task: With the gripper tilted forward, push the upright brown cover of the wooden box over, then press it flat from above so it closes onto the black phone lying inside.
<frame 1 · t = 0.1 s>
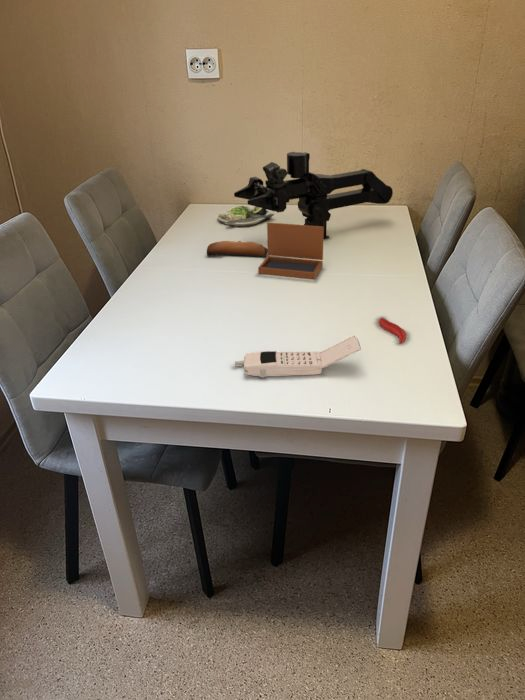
hand: (240, 198, 162), 17 cm above the table, tool horizontal, fingers open, 9 cm apart
wooden box: (290, 272, 156), on the table
mobile phone: (296, 370, 114), on the table
sunglasses case: (238, 254, 170), on the table
cover: (295, 241, 156), point 7 cm above the table, hinge at 92.0°
cayenne pepper: (392, 331, 127), on the table
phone: (290, 270, 156), point 1 cm above the table, touching wooden box
salad plate: (245, 219, 198), on the table
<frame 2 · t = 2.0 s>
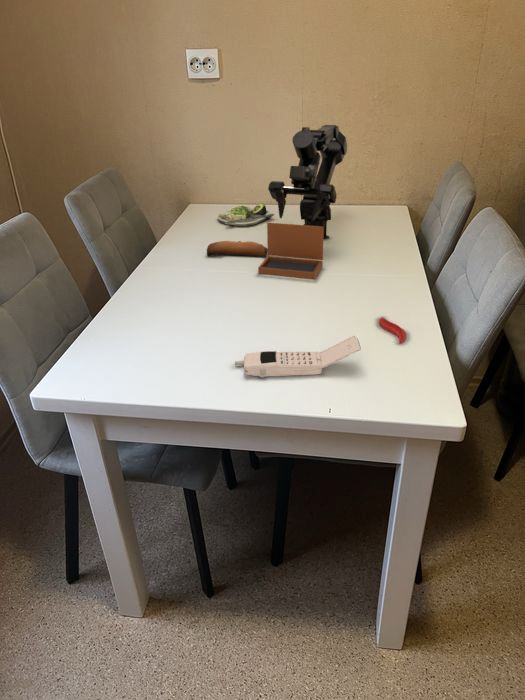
hand: (296, 219, 156), 13 cm above the table, tool tilted 45°, fingers open, 9 cm apart
nothing on the table moved.
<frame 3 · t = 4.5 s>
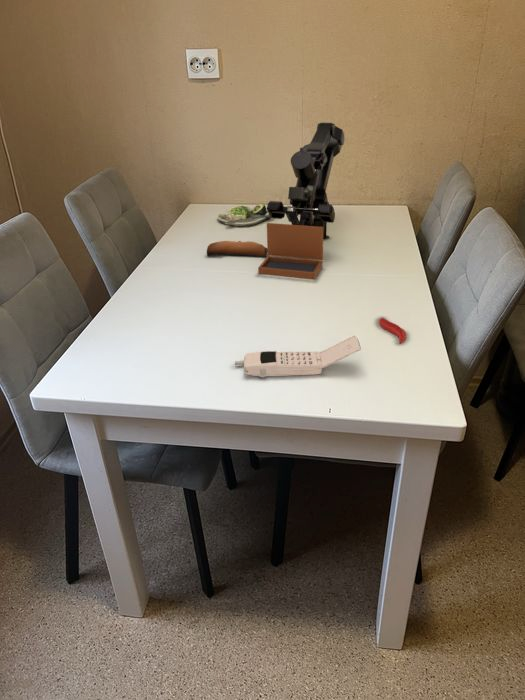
hand: (295, 239, 156), 8 cm above the table, tool tilted 45°, fingers closed, pressing on cover
cover: (294, 241, 156), point 7 cm above the table, hinge at 89.6°, touching gripper
everything else where it was.
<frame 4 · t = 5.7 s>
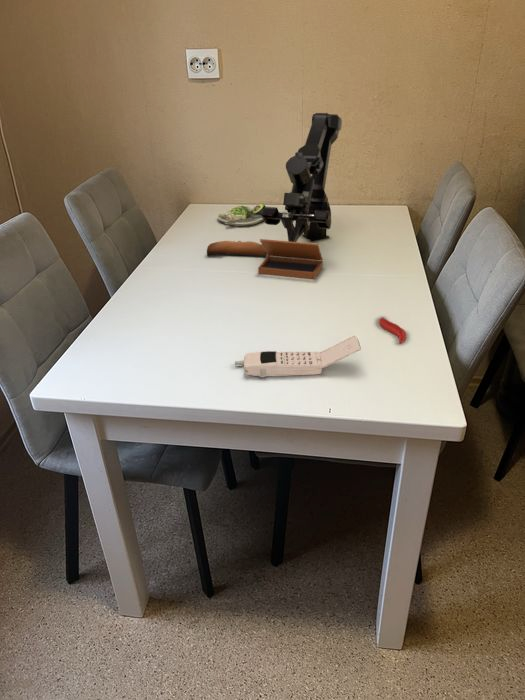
hand: (290, 246, 152), 8 cm above the table, tool tilted 45°, fingers closed, pressing on cover
cover: (291, 249, 154), point 6 cm above the table, hinge at 46.7°, touching gripper
everything else where it was.
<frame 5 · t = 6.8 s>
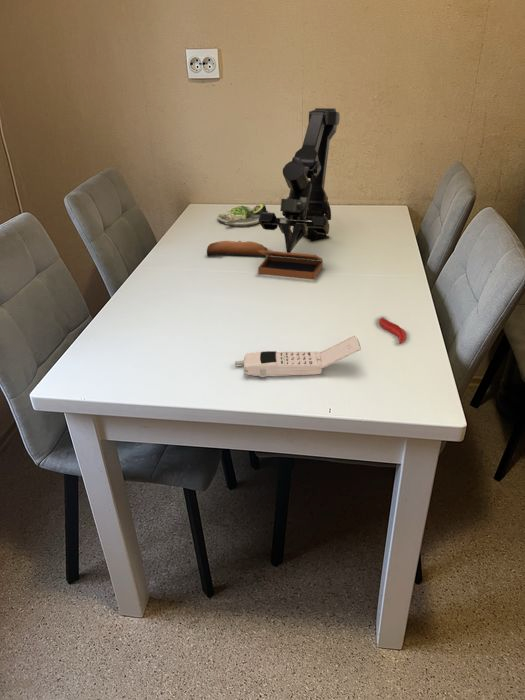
hand: (288, 252, 151), 7 cm above the table, tool tilted 45°, fingers closed
cover: (290, 255, 154), point 5 cm above the table, hinge at 28.0°
everything else where it was.
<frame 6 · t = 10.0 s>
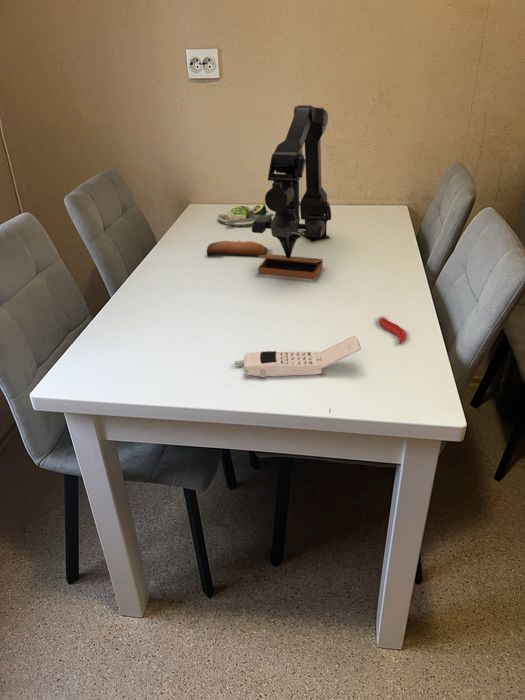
hand: (288, 257, 152), 5 cm above the table, tool pointing down, fingers closed, pressing on cover
cover: (290, 258, 154), point 4 cm above the table, hinge at 18.2°, touching gripper
everything else where it was.
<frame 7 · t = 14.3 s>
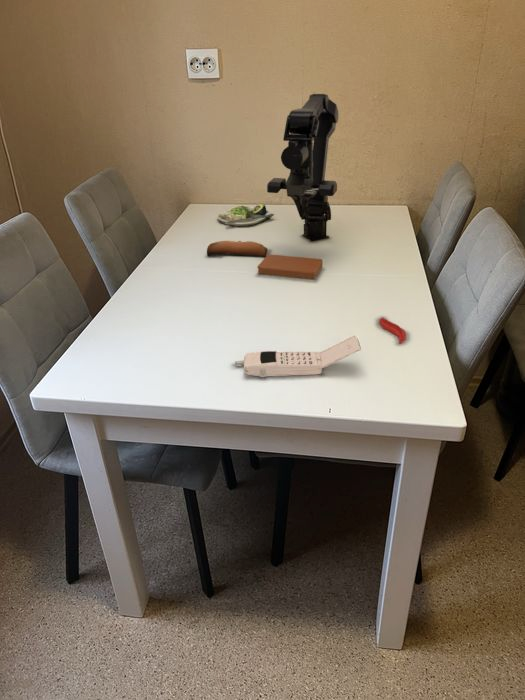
hand: (301, 217, 160), 12 cm above the table, tool pointing down, fingers closed
cover: (290, 263, 155), point 3 cm above the table, hinge at 0.0°
everything else where it was.
at the end: cover at +0° (first picture: +92°); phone 0.0 cm off-centre in the wooden box, point 0.7 cm above the wooden box's base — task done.
